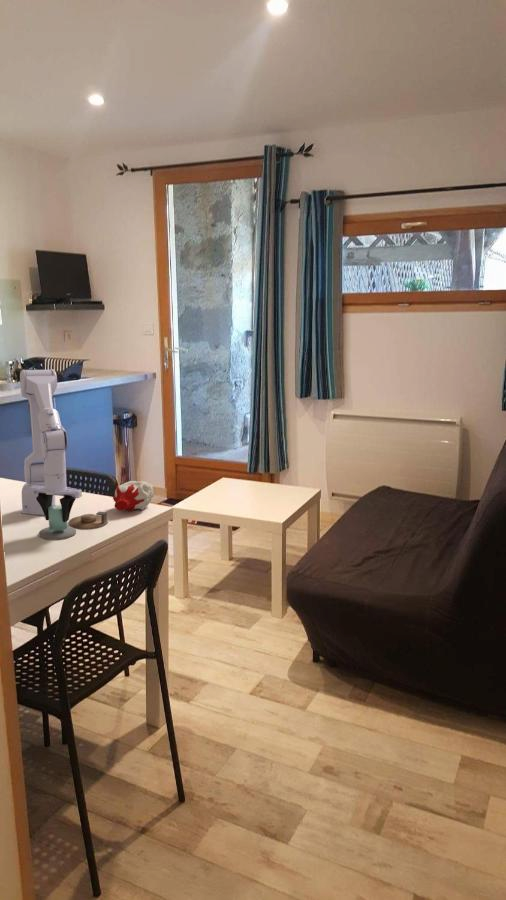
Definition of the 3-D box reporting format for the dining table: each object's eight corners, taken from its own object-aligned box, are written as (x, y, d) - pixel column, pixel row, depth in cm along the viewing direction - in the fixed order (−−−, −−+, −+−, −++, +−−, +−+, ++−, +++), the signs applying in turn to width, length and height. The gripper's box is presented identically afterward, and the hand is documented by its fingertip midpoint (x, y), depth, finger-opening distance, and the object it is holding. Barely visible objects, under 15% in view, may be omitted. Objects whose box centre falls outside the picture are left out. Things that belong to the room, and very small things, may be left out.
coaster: (32, 537, 180) (31, 535, 180) (50, 526, 189) (50, 524, 189) (65, 541, 178) (65, 539, 178) (82, 529, 187) (82, 527, 187)
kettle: (55, 524, 186) (54, 503, 185) (70, 526, 185) (69, 504, 184) (42, 531, 180) (41, 509, 179) (57, 533, 179) (56, 511, 178)
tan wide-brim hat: (61, 527, 189) (61, 515, 188) (79, 515, 200) (79, 504, 199) (97, 530, 187) (97, 519, 186) (114, 518, 198) (113, 507, 197)
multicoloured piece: (155, 502, 213) (139, 522, 199) (123, 499, 215) (104, 519, 201) (154, 477, 210) (137, 495, 196) (121, 474, 212) (102, 492, 198)
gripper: (23, 474, 178) (25, 522, 180) (72, 478, 175) (74, 527, 178) (37, 468, 184) (39, 514, 187) (84, 472, 181) (86, 519, 184)
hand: (57, 520), depth 183 cm, fingers closed on kettle, 5 cm apart
